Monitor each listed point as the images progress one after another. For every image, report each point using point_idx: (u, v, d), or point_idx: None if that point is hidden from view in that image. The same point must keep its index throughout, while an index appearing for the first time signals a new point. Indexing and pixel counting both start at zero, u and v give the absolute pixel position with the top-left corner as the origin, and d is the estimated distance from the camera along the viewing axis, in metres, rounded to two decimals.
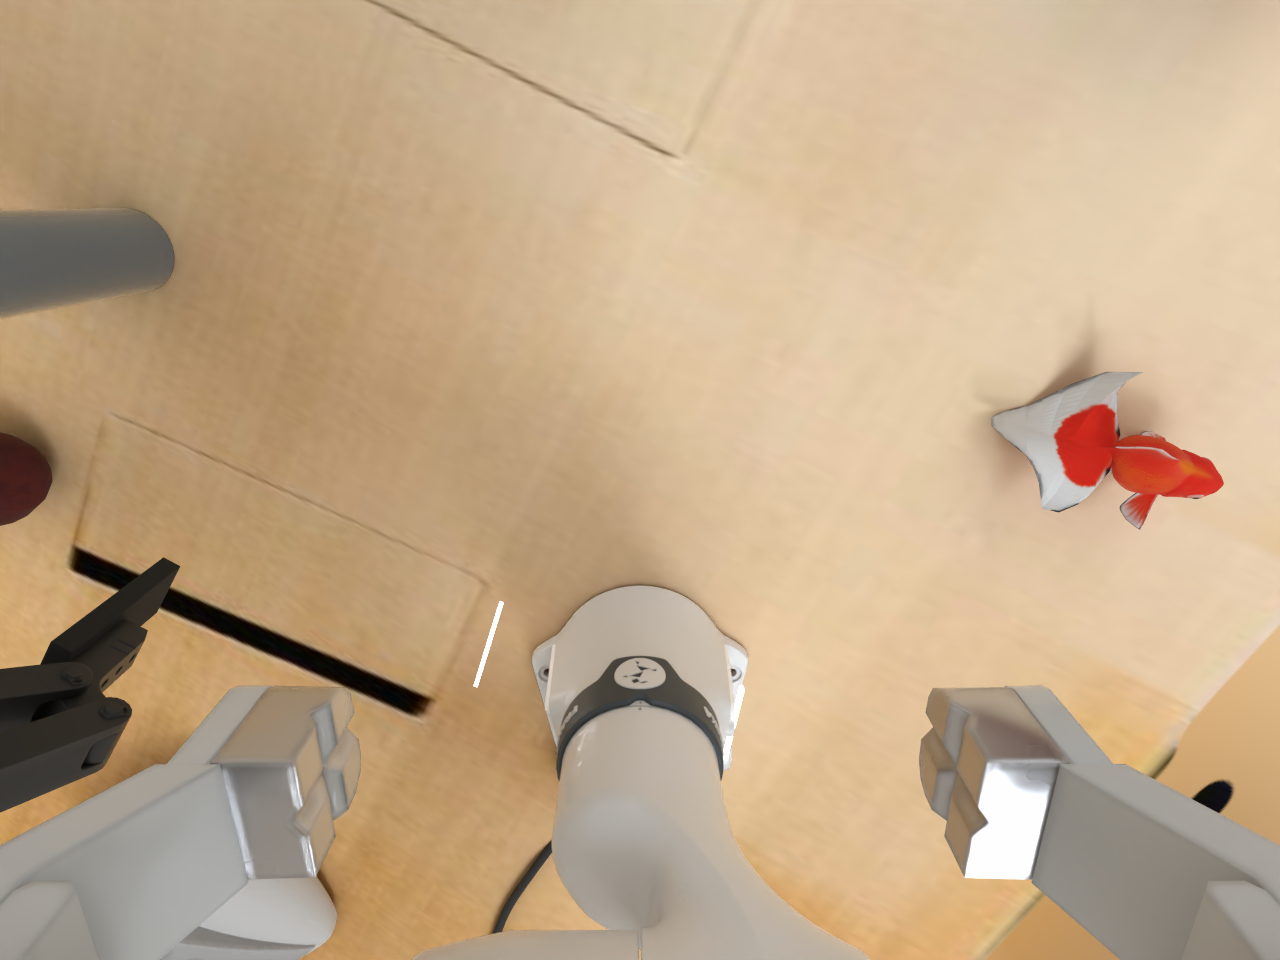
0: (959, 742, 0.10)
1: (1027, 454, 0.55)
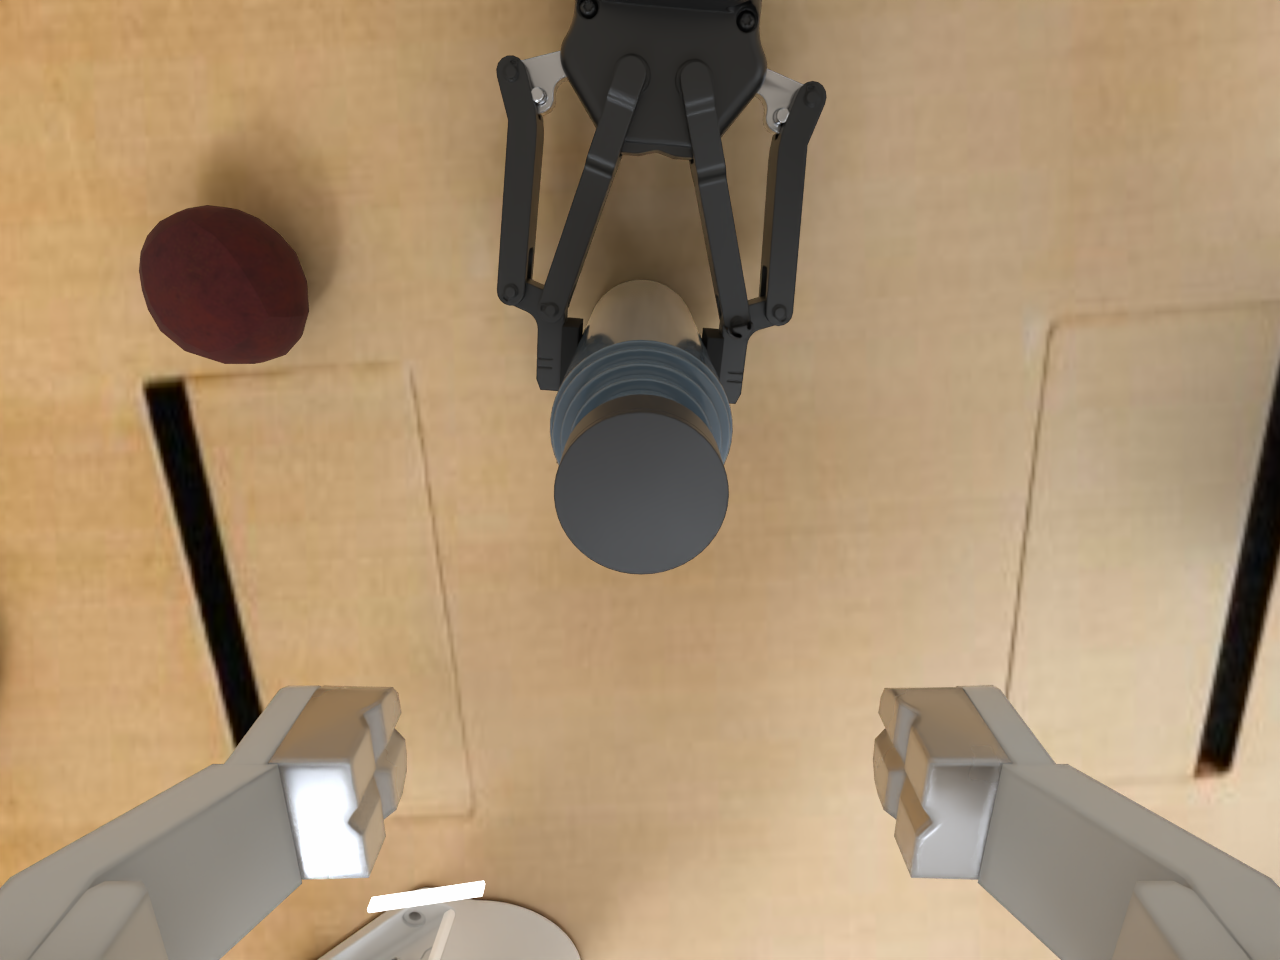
0: (908, 742, 0.10)
1: None
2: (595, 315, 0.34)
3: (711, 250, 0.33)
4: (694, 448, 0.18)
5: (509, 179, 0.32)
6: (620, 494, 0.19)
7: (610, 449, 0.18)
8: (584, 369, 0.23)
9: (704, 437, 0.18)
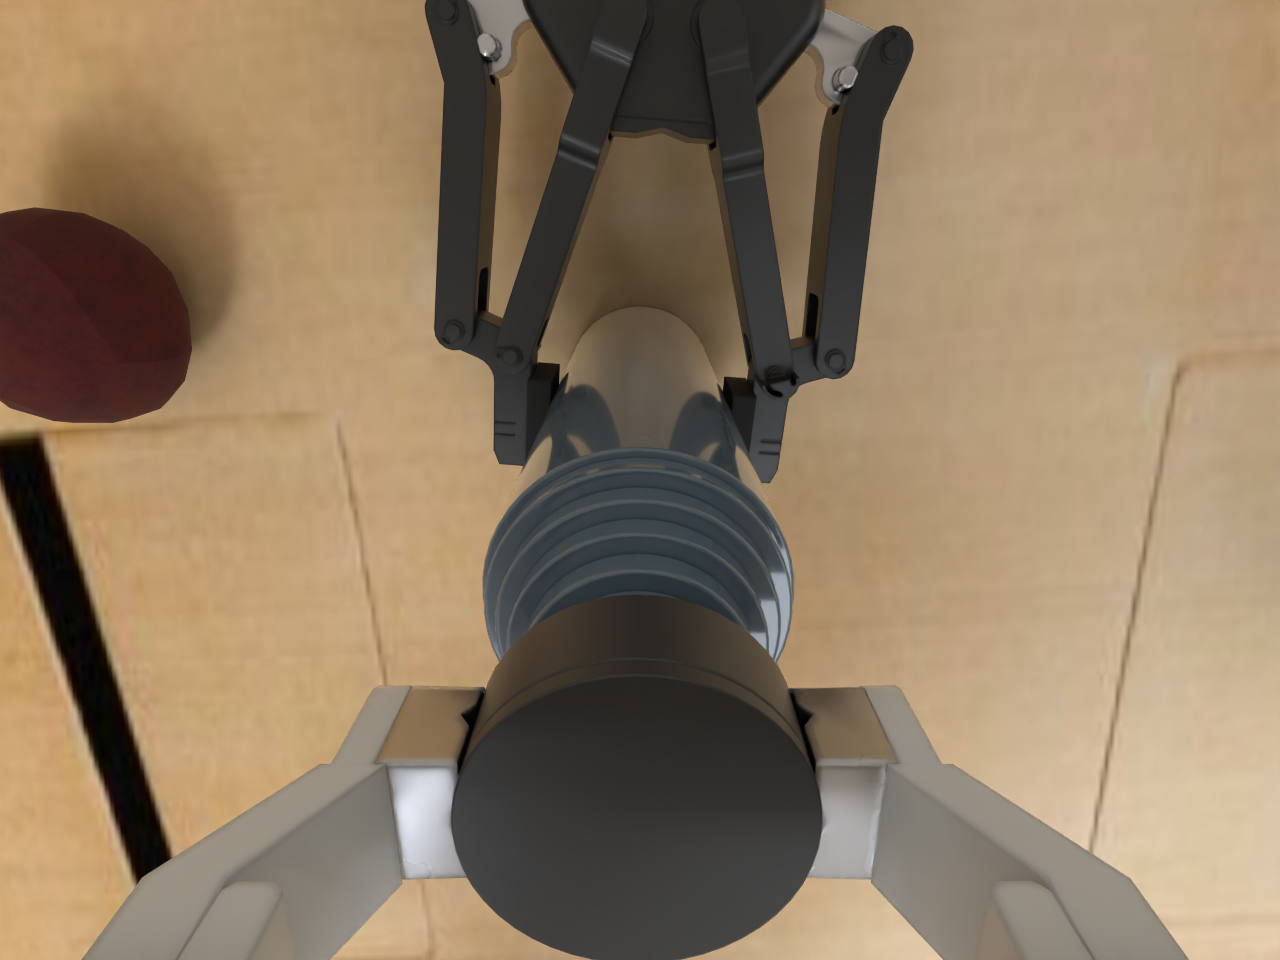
0: None
1: None
2: (574, 364, 0.24)
3: (740, 273, 0.23)
4: (752, 744, 0.08)
5: (448, 170, 0.22)
6: (592, 827, 0.09)
7: (569, 746, 0.08)
8: (537, 502, 0.13)
9: (775, 722, 0.08)
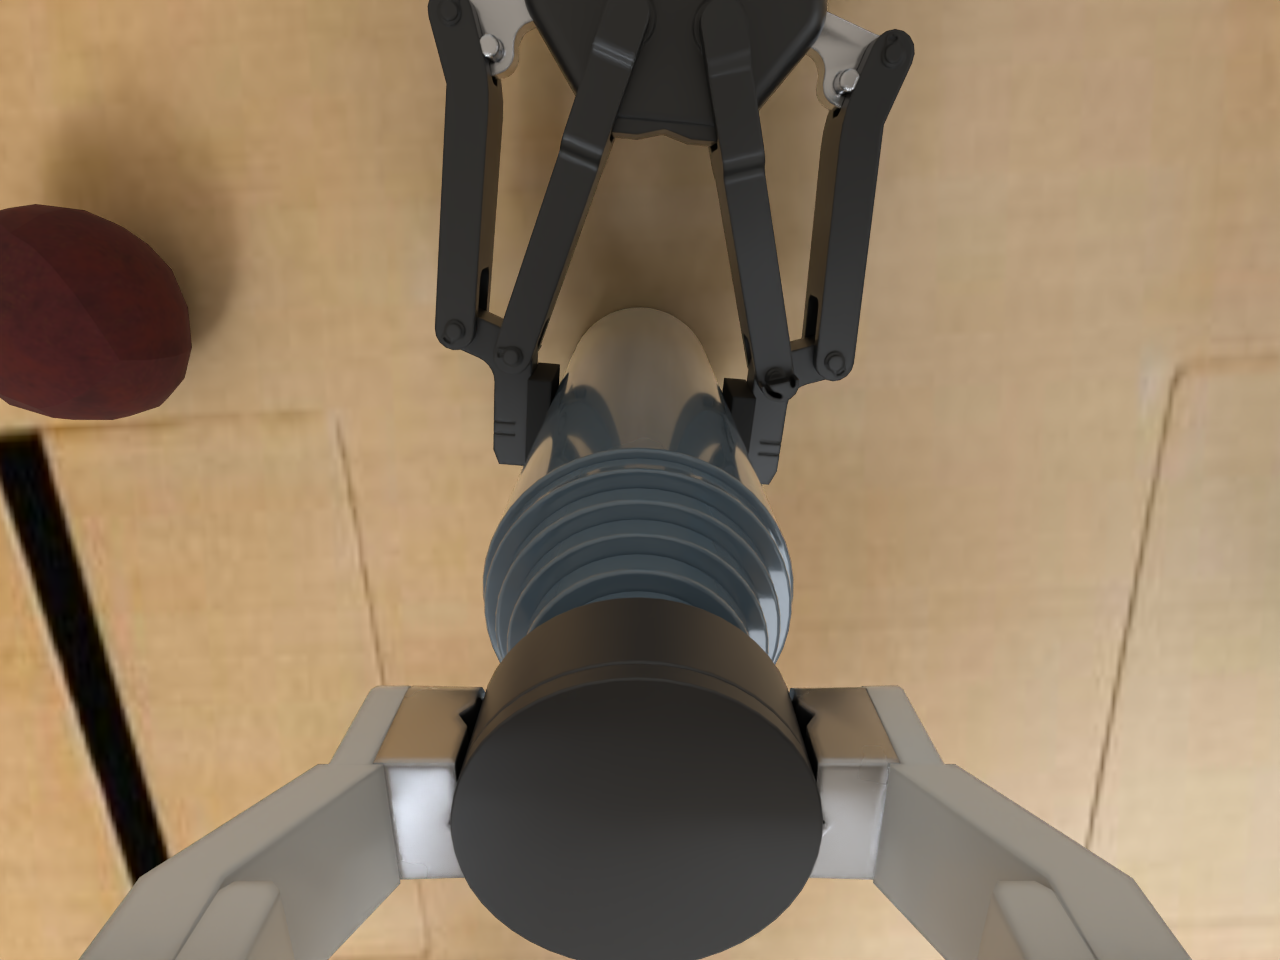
0: None
1: None
2: (574, 365, 0.24)
3: (740, 275, 0.23)
4: (540, 733, 0.08)
5: (449, 170, 0.22)
6: (625, 868, 0.09)
7: (525, 872, 0.09)
8: (538, 502, 0.13)
9: (518, 709, 0.08)
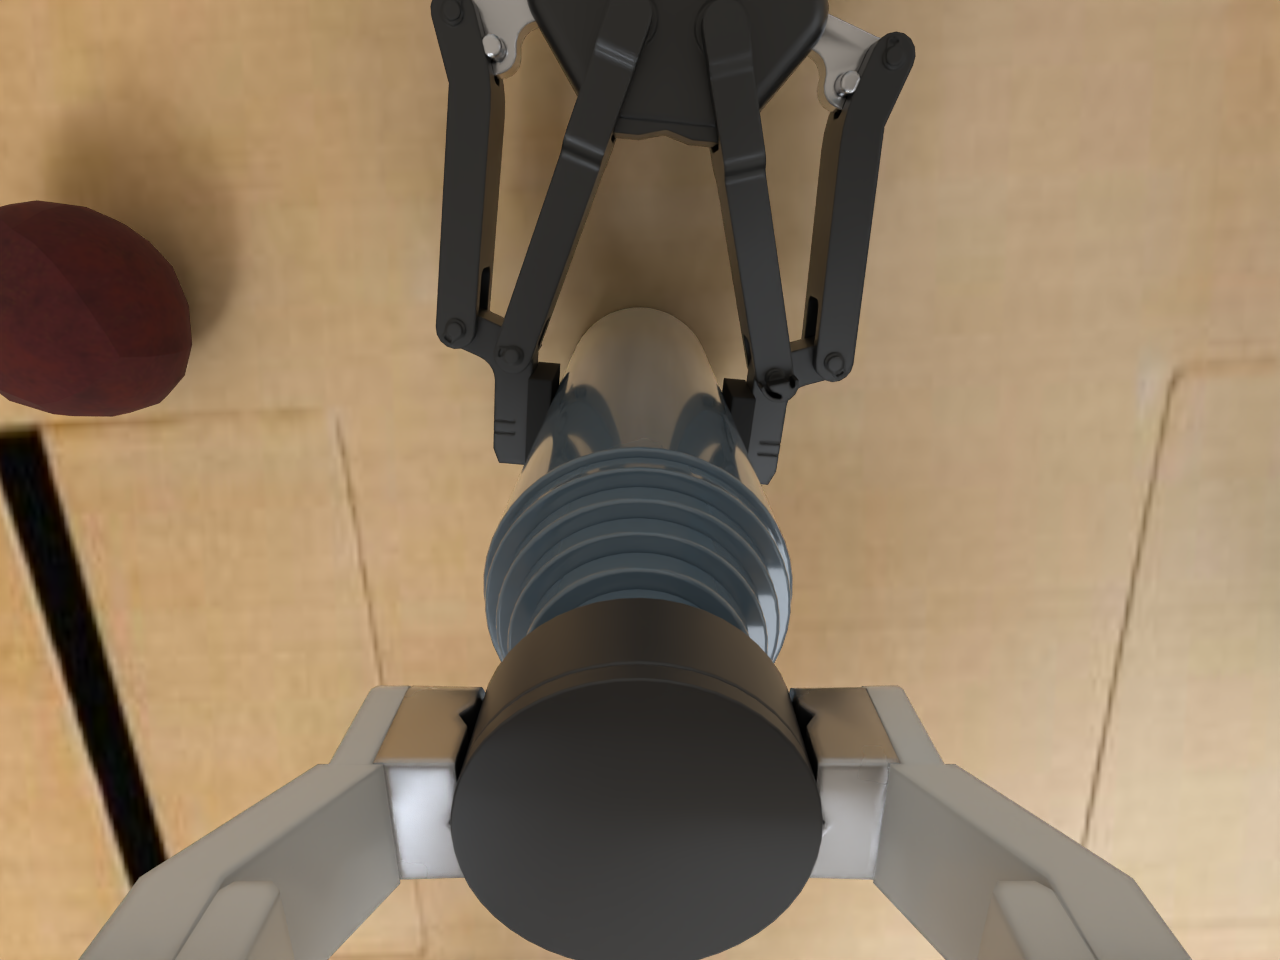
0: None
1: None
2: (575, 364, 0.24)
3: (741, 275, 0.23)
4: (504, 890, 0.09)
5: (451, 170, 0.22)
6: (677, 849, 0.09)
7: (666, 924, 0.09)
8: (539, 500, 0.13)
9: (481, 898, 0.09)
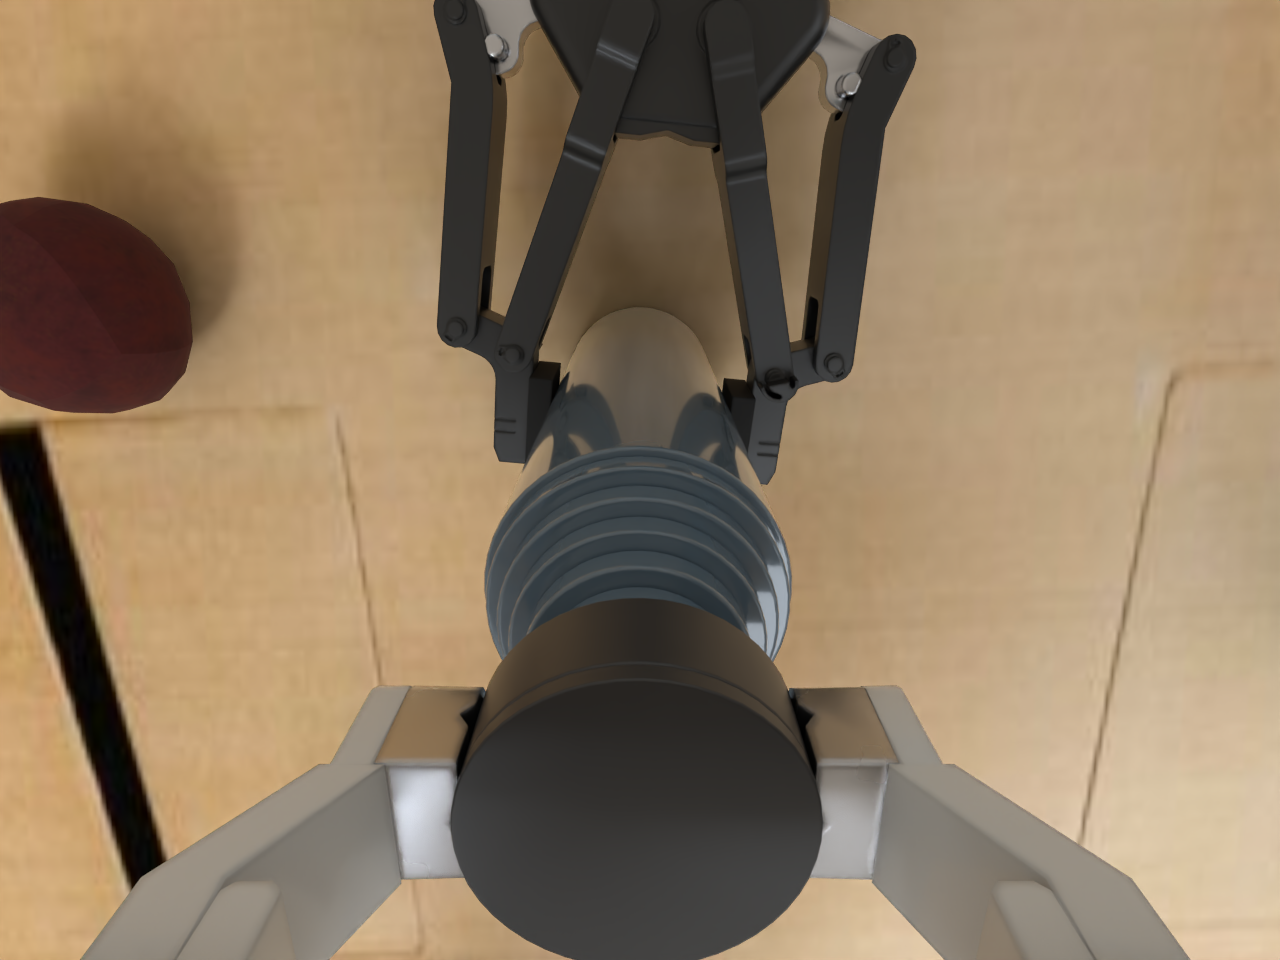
0: None
1: None
2: (575, 363, 0.24)
3: (741, 276, 0.23)
4: (685, 942, 0.09)
5: (453, 169, 0.22)
6: (660, 805, 0.09)
7: (760, 825, 0.09)
8: (540, 499, 0.13)
9: (695, 957, 0.10)
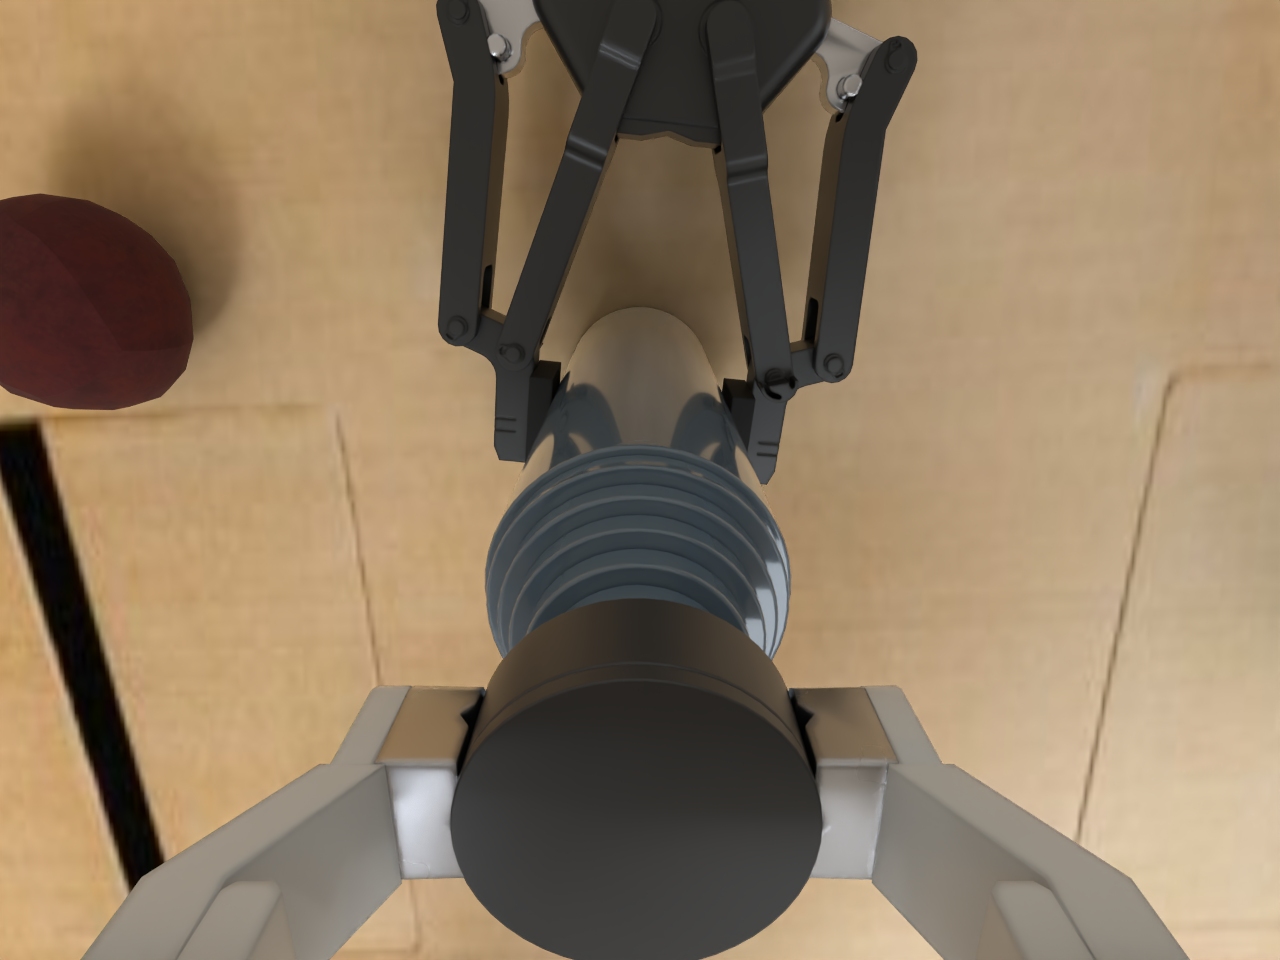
0: None
1: None
2: (576, 363, 0.24)
3: (742, 276, 0.23)
4: (790, 813, 0.09)
5: (455, 168, 0.22)
6: (601, 813, 0.09)
7: (640, 735, 0.08)
8: (541, 497, 0.13)
9: (819, 803, 0.09)
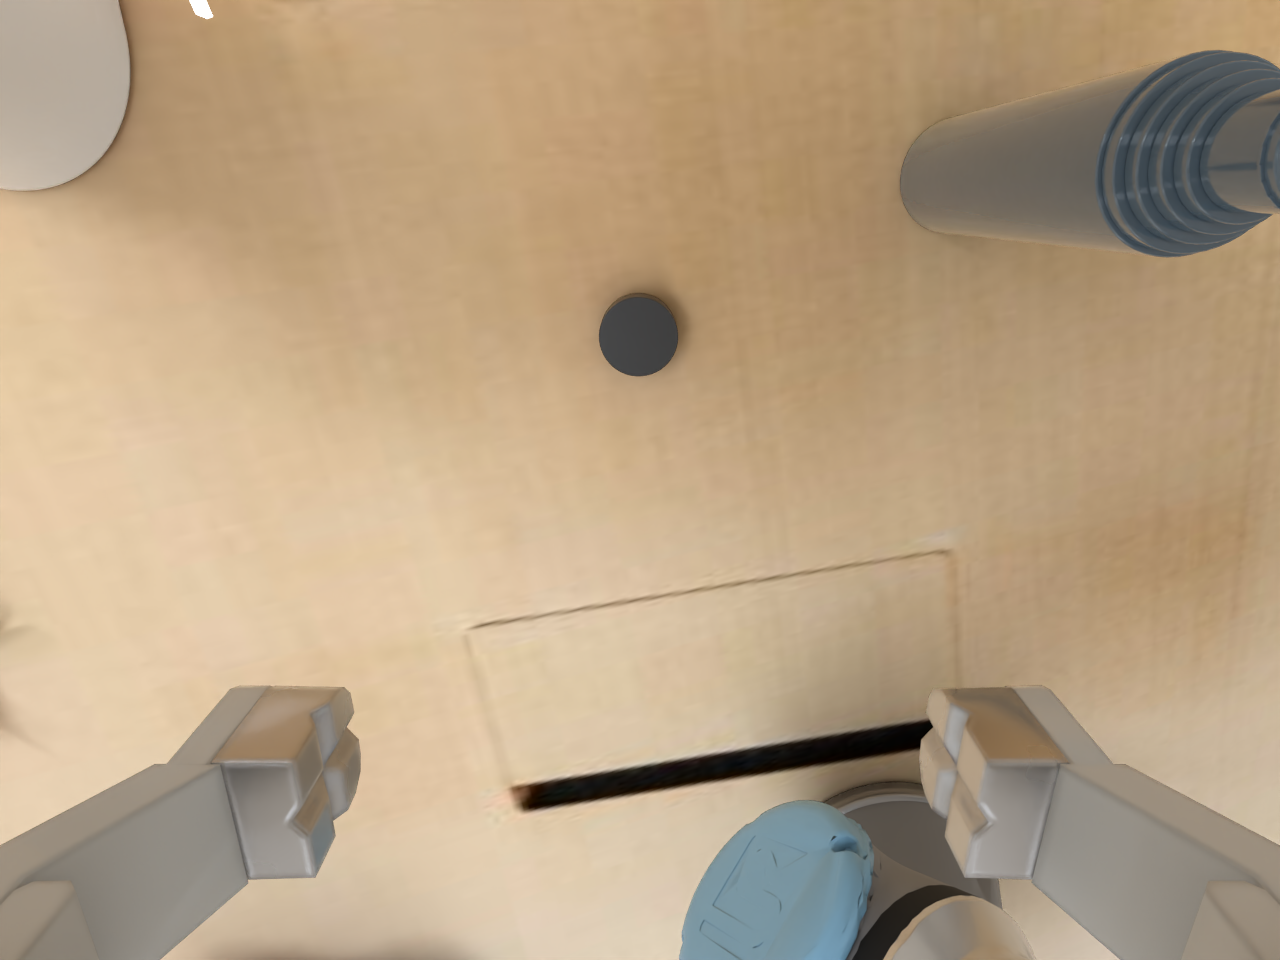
0: (959, 742, 0.10)
1: None
2: None
3: None
4: (636, 304, 0.41)
5: None
6: (631, 343, 0.42)
7: (612, 332, 0.41)
8: None
9: (636, 297, 0.41)
